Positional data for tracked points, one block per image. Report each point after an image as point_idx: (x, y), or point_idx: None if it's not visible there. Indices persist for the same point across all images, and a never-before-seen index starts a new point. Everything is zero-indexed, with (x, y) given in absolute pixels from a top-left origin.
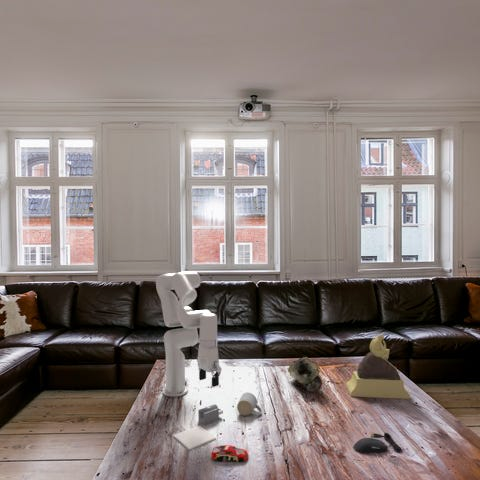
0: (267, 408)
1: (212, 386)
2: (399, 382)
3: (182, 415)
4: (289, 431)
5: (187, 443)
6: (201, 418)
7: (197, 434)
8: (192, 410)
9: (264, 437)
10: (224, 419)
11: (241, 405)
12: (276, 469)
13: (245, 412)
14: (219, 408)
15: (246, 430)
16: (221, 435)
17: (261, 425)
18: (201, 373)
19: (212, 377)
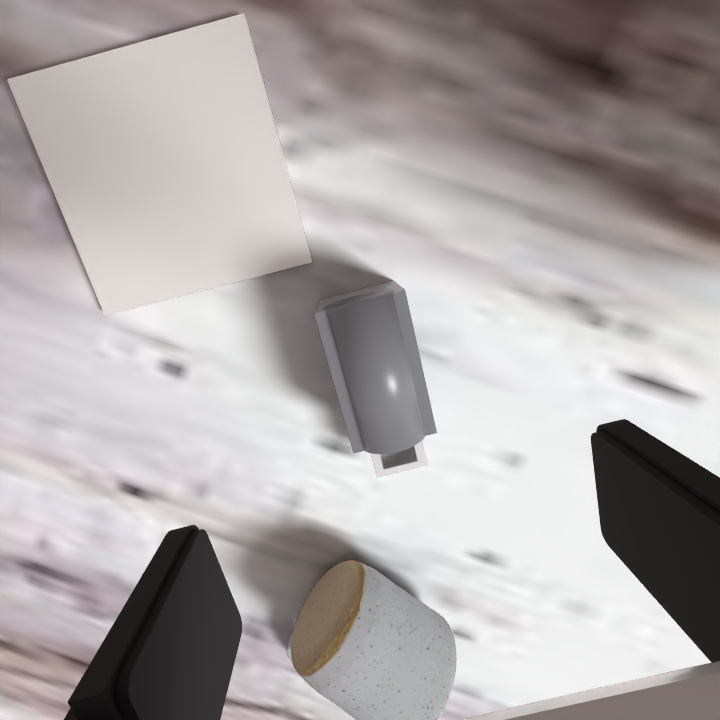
0: None
1: (171, 531)
2: None
3: (538, 192)
4: None
5: (83, 89)
6: (353, 295)
7: (189, 206)
8: (573, 290)
9: (51, 575)
10: (342, 451)
11: (333, 613)
12: None
13: (319, 594)
14: (416, 465)
15: (158, 519)
16: (147, 363)
17: None
18: (686, 531)
19: (81, 706)
